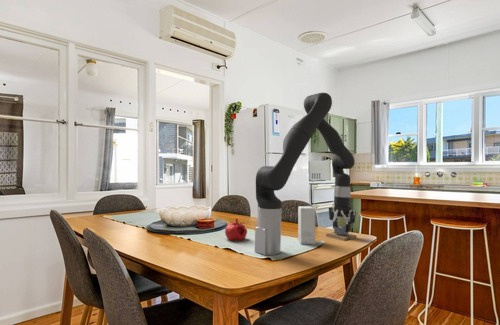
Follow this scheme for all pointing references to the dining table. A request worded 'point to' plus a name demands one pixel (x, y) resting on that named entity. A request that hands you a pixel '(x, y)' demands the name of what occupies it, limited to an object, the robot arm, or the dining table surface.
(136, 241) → the dining table surface
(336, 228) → the steel ring
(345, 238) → the piston stand
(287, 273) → the dining table surface
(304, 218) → the skincare box
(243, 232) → the pomegranate
